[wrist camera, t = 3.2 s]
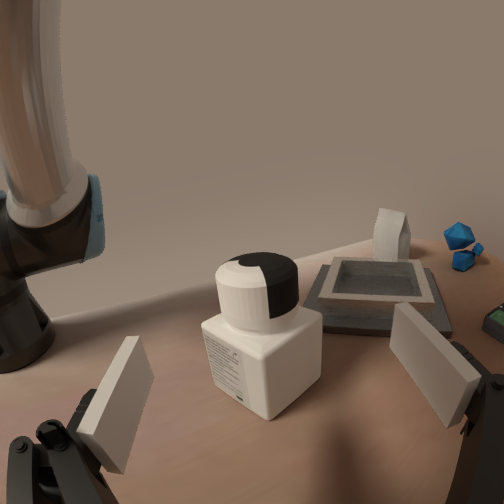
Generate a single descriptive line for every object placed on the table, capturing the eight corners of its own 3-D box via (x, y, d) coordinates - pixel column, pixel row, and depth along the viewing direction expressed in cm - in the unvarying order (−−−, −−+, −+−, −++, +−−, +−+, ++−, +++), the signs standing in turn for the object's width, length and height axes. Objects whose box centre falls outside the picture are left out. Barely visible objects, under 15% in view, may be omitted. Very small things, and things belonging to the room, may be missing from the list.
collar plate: (294, 329, 36) (293, 305, 35) (322, 269, 53) (322, 251, 52) (450, 338, 28) (456, 313, 27) (428, 273, 45) (430, 254, 44)
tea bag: (396, 268, 50) (399, 214, 47) (372, 258, 56) (373, 209, 53) (408, 263, 51) (411, 212, 48) (385, 254, 57) (386, 206, 54)
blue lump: (492, 230, 43) (472, 225, 38) (483, 273, 45) (461, 276, 40) (464, 223, 49) (438, 217, 44) (456, 263, 51) (429, 264, 46)
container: (266, 350, 32) (255, 241, 28) (322, 377, 27) (324, 254, 23) (213, 385, 28) (187, 266, 23) (268, 423, 22) (254, 290, 18)
